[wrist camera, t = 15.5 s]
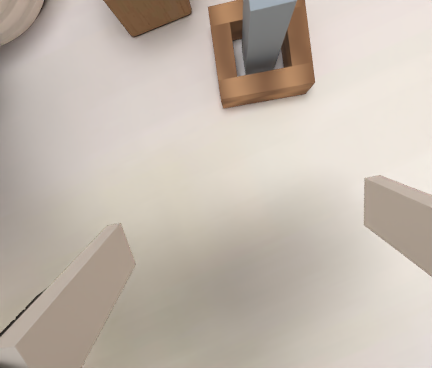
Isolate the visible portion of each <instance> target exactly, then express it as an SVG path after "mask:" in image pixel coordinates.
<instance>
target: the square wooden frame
mask: <svg viewBox="0 0 432 368" xmlns="http://www.w3.org/2000/svg"><path fill="white" fill-rule="evenodd" d="M208 11H209V18H210V25H211V32H212V39H213V47H214V54H215V61H216V68H217V75H218V82H219V89H220V96H221V102H222V106H223V108H229V107H234V106H240V105H245V104H251V103H257V102H262V101H268V100H273V99H279V98H285V97H290V96H296V95H302V94H306V93H307V91H308V90H309V89H310V88H311V87H312V85H313V84H314V83H315V78H314V70H313V62H312V54H311V46H310V38H309V30H308V22H307V14H306V6H305V0H297V2H296V5H295V8H294V11H293V14H292V17H291V20H290V23H289V26H288V29H287V31H286V34H285V37H284V40H283V43H282V46H281V49H282V57H283V64H284V68H280V69H275V70H270V71H265V72H260V73H254V74H249V75H244V76H239V77H237V72H236V65H235V57H234V50H233V43H232V41H233V40H237V39H242V24H243V0H236V1H231V2H227V3H223V4H219V5H214V6H210V7H208Z"/></svg>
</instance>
